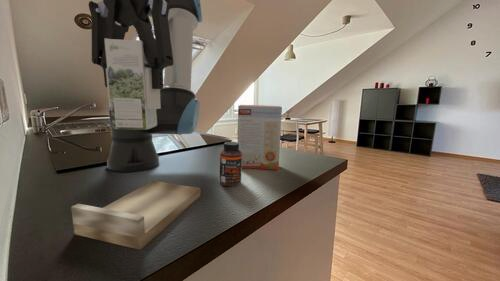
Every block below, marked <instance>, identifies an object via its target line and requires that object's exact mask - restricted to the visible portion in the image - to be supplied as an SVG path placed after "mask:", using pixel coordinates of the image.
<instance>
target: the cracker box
mask: <svg viewBox="0 0 500 281" xmlns="http://www.w3.org/2000/svg"><path fill="white" fill-rule="evenodd" d="M237 110H238V111H237V113H238V114H237V143H239V148H238V149H239V150H240V151H241V153H242V168H241V169H257V170H271V171H272V170H273V171H279V166H280V152H281V151H280V150H281V131H282V130H281V129H282V112H283V108H282V106H281V105H265V104H264V105H263V104H258V105H257V104H239V105H238V109H237Z"/></svg>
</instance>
